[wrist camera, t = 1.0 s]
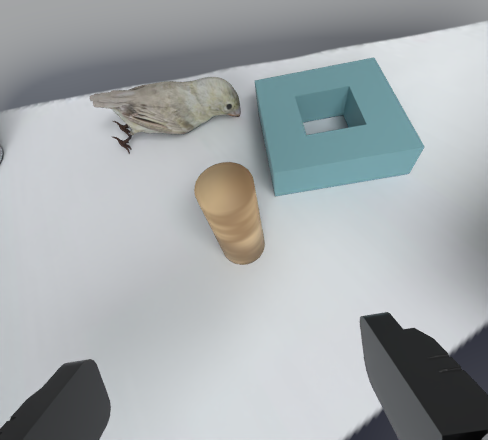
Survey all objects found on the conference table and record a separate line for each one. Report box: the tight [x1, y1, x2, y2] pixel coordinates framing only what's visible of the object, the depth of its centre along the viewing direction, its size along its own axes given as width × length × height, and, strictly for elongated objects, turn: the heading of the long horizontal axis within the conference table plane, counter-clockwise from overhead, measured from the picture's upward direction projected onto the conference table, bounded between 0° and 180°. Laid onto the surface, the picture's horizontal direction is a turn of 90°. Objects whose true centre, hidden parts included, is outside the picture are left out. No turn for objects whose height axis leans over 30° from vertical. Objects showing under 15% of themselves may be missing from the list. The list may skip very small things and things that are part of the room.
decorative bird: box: [90, 77, 241, 154], centre depth 35 cm, size 5×16×8 cm, turn 101°
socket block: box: [255, 58, 424, 196], centre depth 33 cm, size 14×14×4 cm
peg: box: [194, 162, 265, 265], centre depth 25 cm, size 4×4×10 cm
